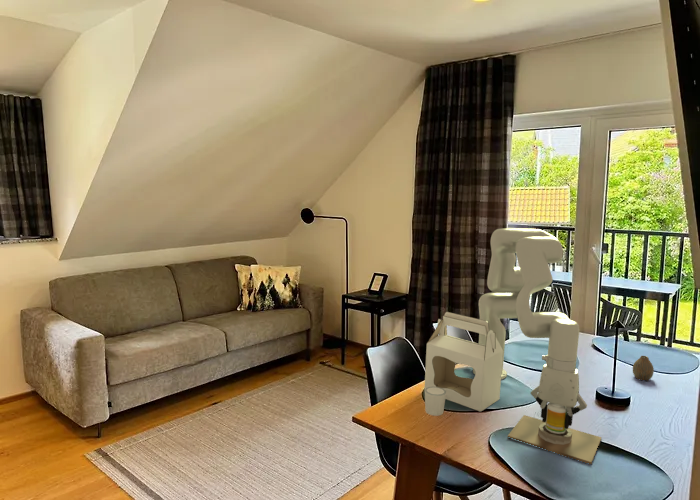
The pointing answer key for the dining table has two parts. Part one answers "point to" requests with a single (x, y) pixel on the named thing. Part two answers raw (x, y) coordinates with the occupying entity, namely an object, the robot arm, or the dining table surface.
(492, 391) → the gable box
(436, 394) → the white cup
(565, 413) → the supplement bottle
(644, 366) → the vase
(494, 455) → the dining table surface
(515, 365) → the dining table surface
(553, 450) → the socket board
